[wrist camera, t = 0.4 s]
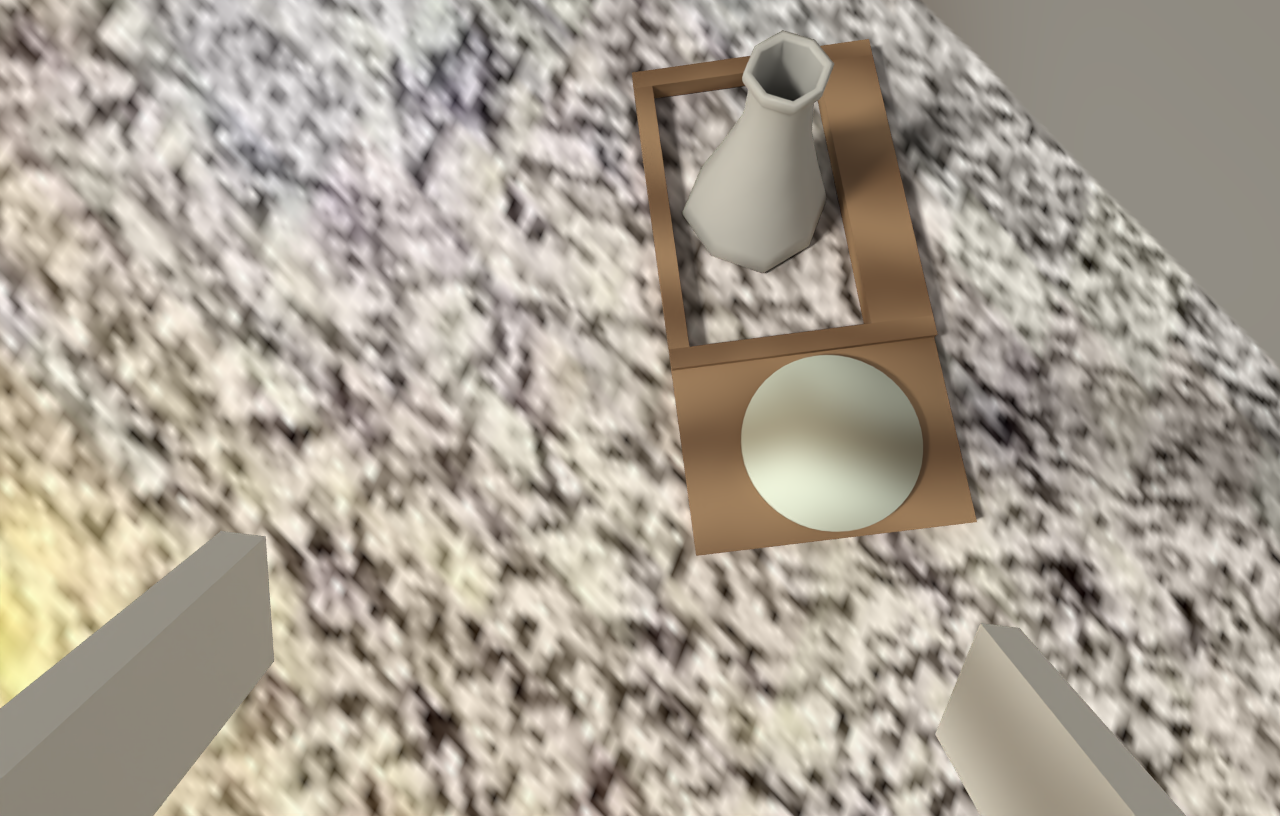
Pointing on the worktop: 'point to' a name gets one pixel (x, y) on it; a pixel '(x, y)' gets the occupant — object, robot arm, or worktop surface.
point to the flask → (766, 161)
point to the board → (815, 357)
